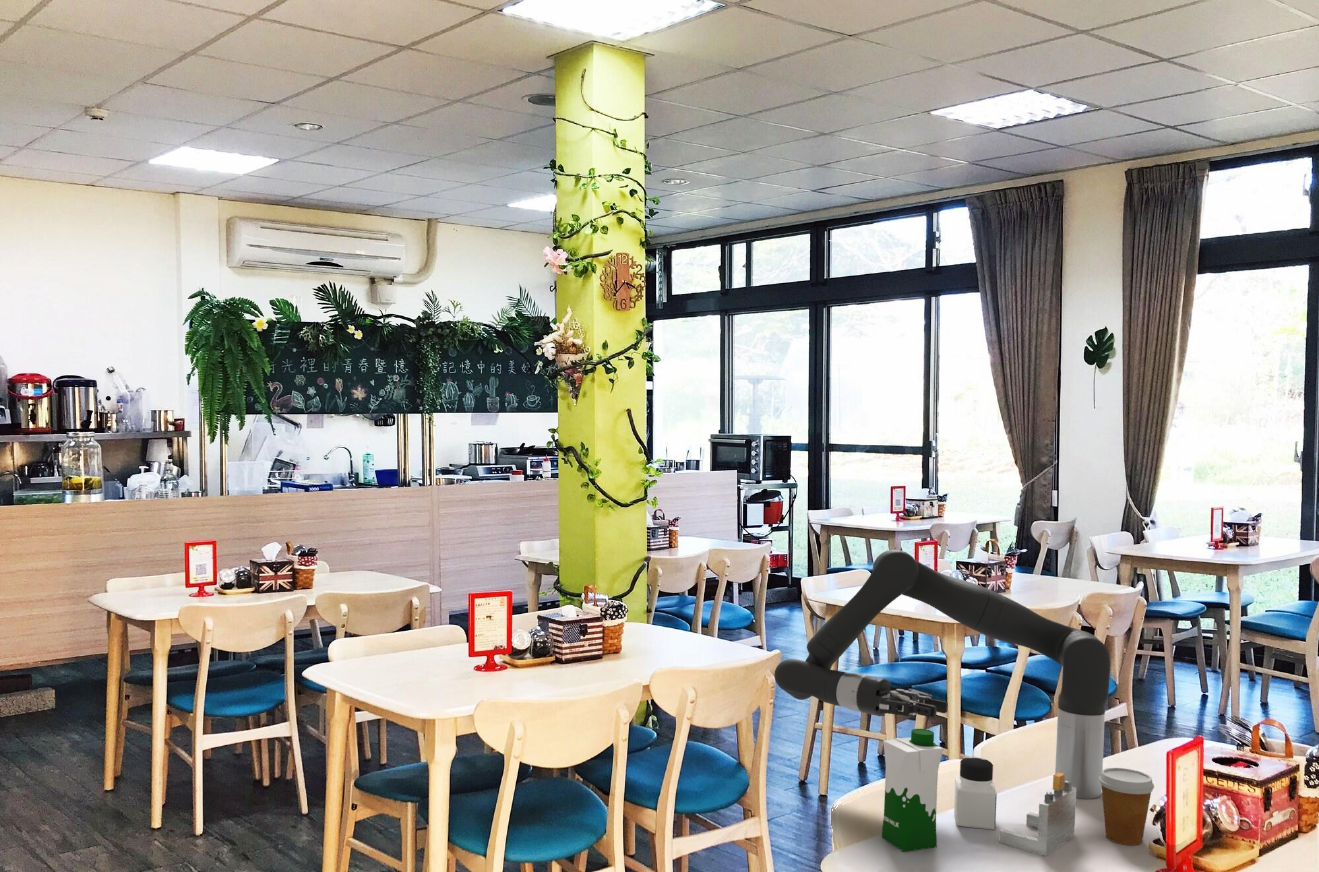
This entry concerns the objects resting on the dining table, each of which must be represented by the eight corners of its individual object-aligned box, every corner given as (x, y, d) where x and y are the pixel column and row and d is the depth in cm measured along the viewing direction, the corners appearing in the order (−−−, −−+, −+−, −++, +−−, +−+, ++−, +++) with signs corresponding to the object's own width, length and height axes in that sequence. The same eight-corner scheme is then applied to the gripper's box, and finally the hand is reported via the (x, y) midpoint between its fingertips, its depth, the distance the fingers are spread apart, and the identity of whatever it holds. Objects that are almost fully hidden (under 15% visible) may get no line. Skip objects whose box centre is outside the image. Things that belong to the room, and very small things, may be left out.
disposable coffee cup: (1127, 852, 202) (1130, 785, 202) (1085, 833, 211) (1088, 770, 211) (1163, 844, 207) (1166, 779, 206) (1120, 827, 215) (1123, 764, 215)
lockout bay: (1029, 823, 215) (1032, 757, 215) (1074, 835, 210) (1077, 767, 209) (999, 842, 204) (1002, 773, 204) (1045, 856, 199) (1048, 784, 199)
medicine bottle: (995, 830, 211) (997, 767, 211) (956, 826, 212) (958, 763, 212) (991, 817, 218) (994, 756, 218) (953, 813, 219) (956, 752, 219)
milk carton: (944, 848, 201) (948, 737, 200) (901, 854, 197) (906, 741, 197) (914, 831, 209) (918, 724, 208) (873, 836, 205) (877, 727, 205)
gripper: (847, 680, 225) (925, 696, 214) (881, 670, 236) (958, 685, 225) (845, 718, 225) (923, 736, 214) (880, 705, 236) (956, 722, 225)
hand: (940, 709), depth 220 cm, fingers open, 4 cm apart
